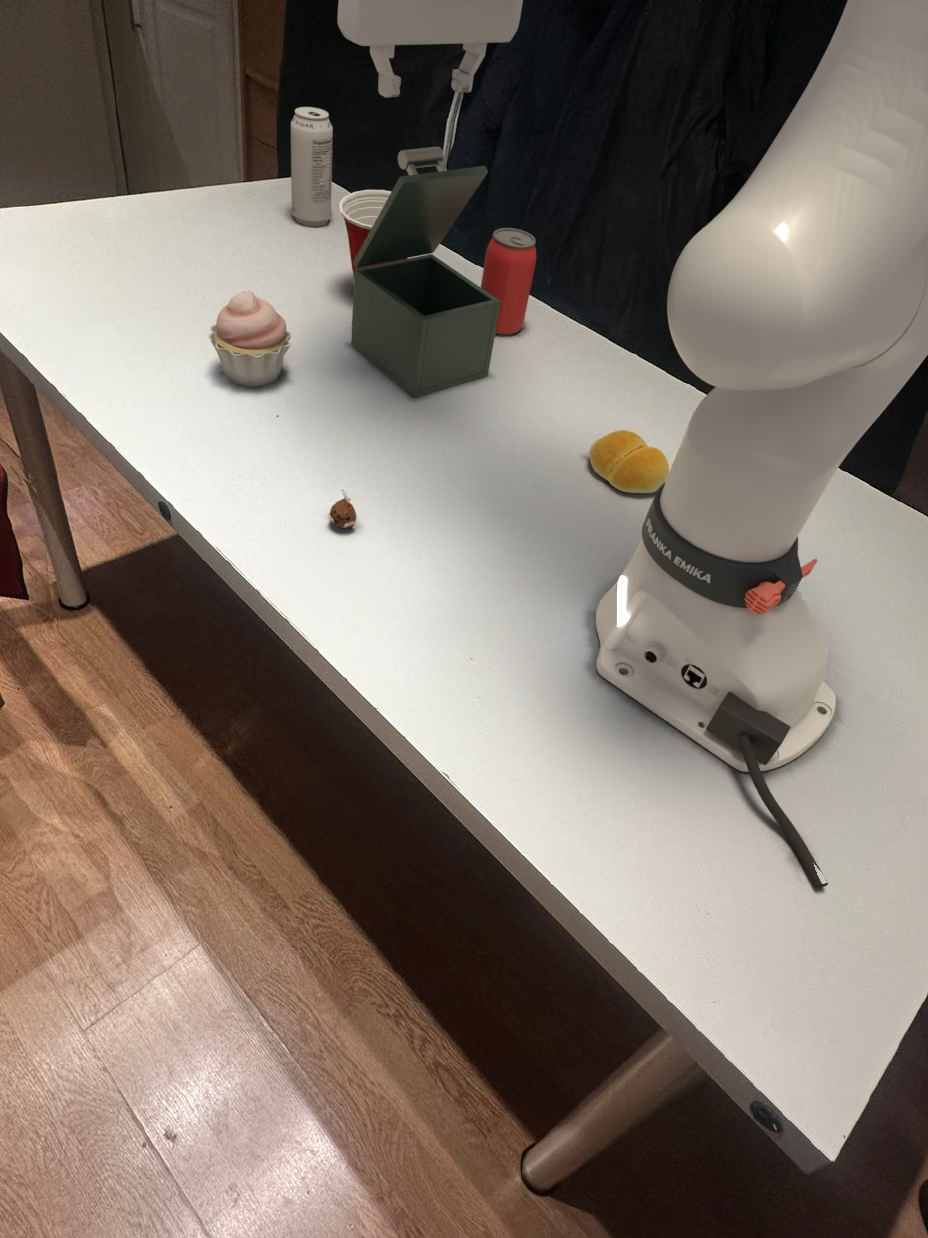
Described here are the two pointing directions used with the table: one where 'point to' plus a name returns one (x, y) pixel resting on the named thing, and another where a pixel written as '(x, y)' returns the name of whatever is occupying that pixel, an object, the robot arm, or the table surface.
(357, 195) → the plastic cup
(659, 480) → the bread roll
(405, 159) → the bin lid
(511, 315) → the beer can
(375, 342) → the bin
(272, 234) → the table surface
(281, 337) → the cupcake
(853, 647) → the table surface
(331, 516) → the chocolate
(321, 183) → the energy drink can
